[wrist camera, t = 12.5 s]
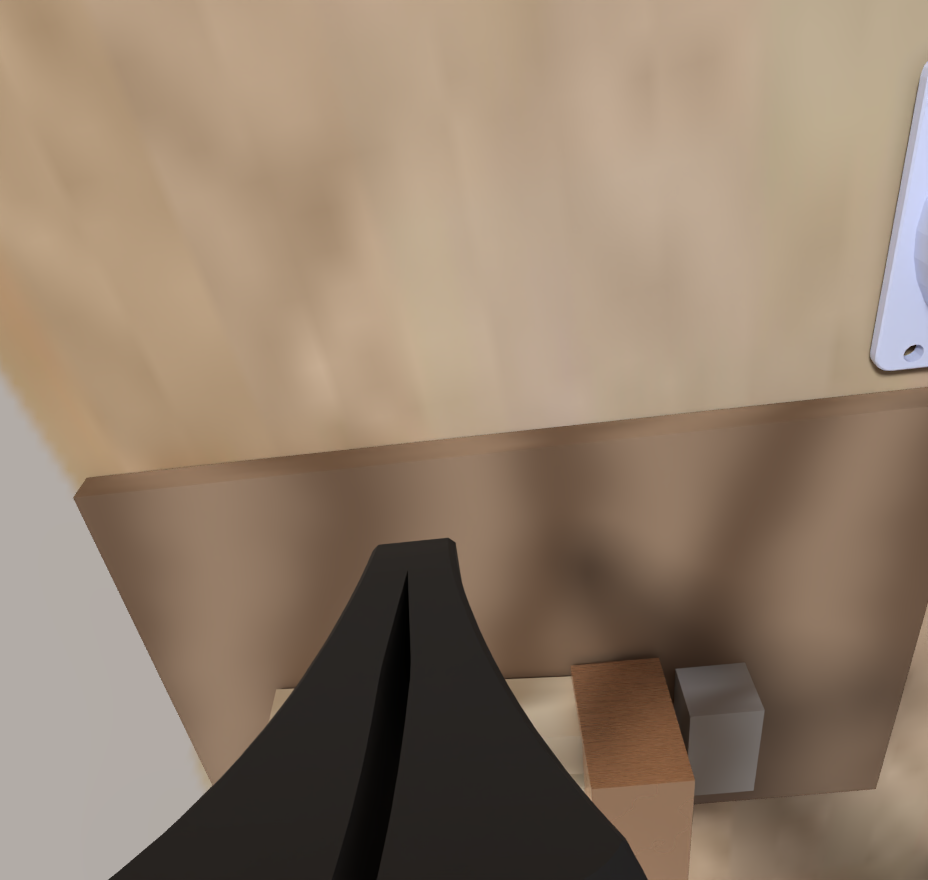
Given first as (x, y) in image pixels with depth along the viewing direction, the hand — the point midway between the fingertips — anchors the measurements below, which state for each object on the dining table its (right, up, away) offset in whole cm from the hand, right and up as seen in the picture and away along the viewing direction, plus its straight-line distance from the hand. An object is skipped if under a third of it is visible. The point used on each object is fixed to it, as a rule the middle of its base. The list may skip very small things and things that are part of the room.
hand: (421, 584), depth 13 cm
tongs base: (+3, -5, +14) cm, 15 cm away
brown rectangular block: (+6, -8, +15) cm, 18 cm away
